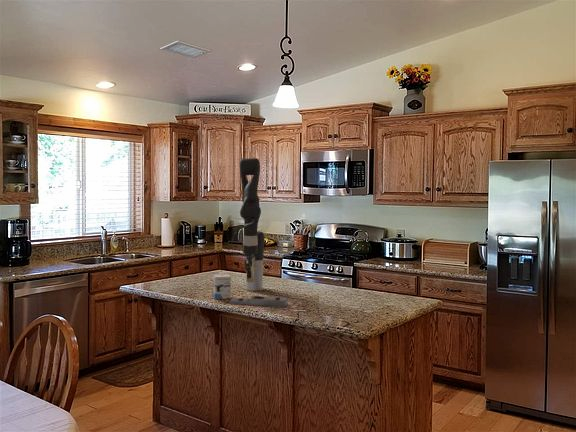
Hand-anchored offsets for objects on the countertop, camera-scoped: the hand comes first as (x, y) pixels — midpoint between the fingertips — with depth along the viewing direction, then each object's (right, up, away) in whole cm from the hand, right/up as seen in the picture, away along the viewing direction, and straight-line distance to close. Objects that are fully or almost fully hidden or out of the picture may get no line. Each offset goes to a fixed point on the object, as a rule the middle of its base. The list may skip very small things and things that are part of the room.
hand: (250, 277), depth 269 cm
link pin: (0, -2, 0) cm, 2 cm away
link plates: (+5, -13, -8) cm, 16 cm away
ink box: (-15, -12, +5) cm, 20 cm away
